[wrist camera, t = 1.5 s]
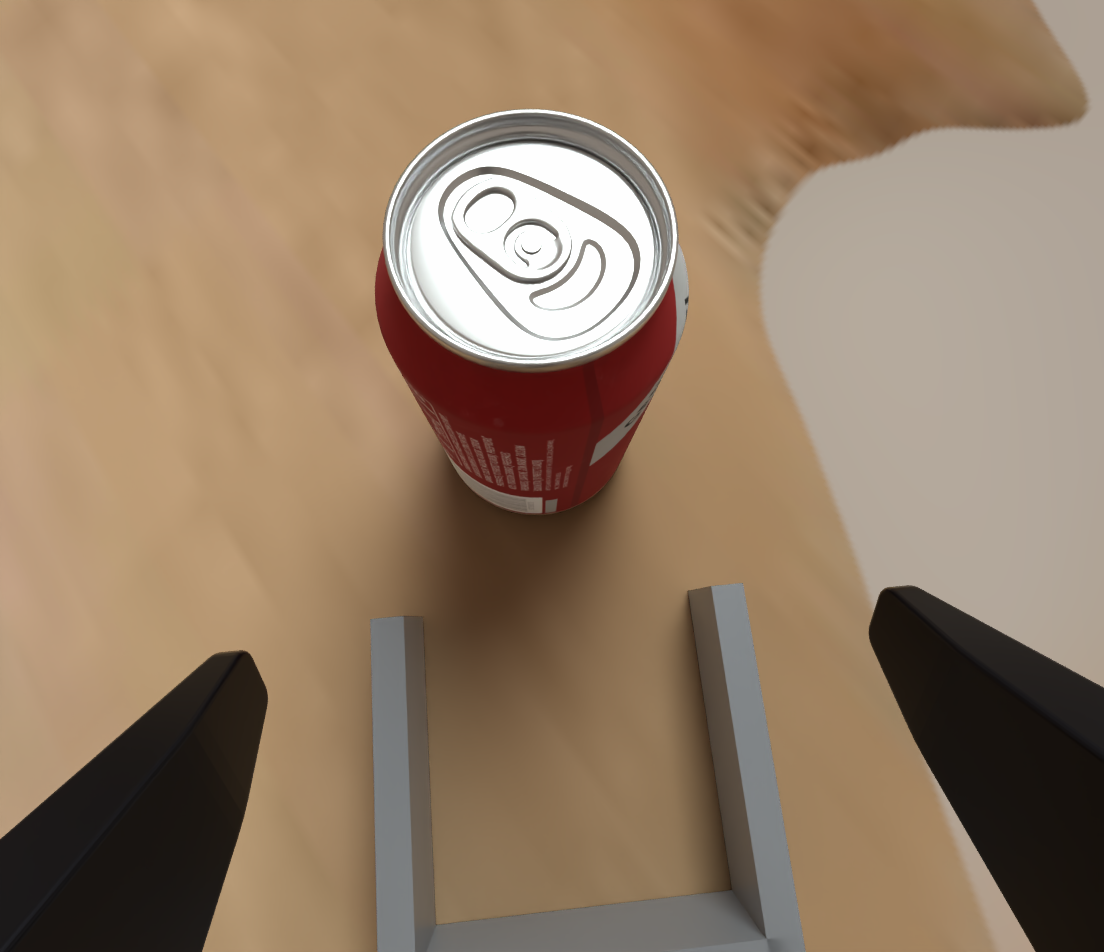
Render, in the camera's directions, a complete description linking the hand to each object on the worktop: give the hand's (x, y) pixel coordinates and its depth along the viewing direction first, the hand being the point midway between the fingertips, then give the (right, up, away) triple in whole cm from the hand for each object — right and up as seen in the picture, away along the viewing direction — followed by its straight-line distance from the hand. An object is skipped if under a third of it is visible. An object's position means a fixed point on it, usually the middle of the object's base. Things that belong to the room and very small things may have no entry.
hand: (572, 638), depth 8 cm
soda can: (-1, +4, +14) cm, 15 cm away
